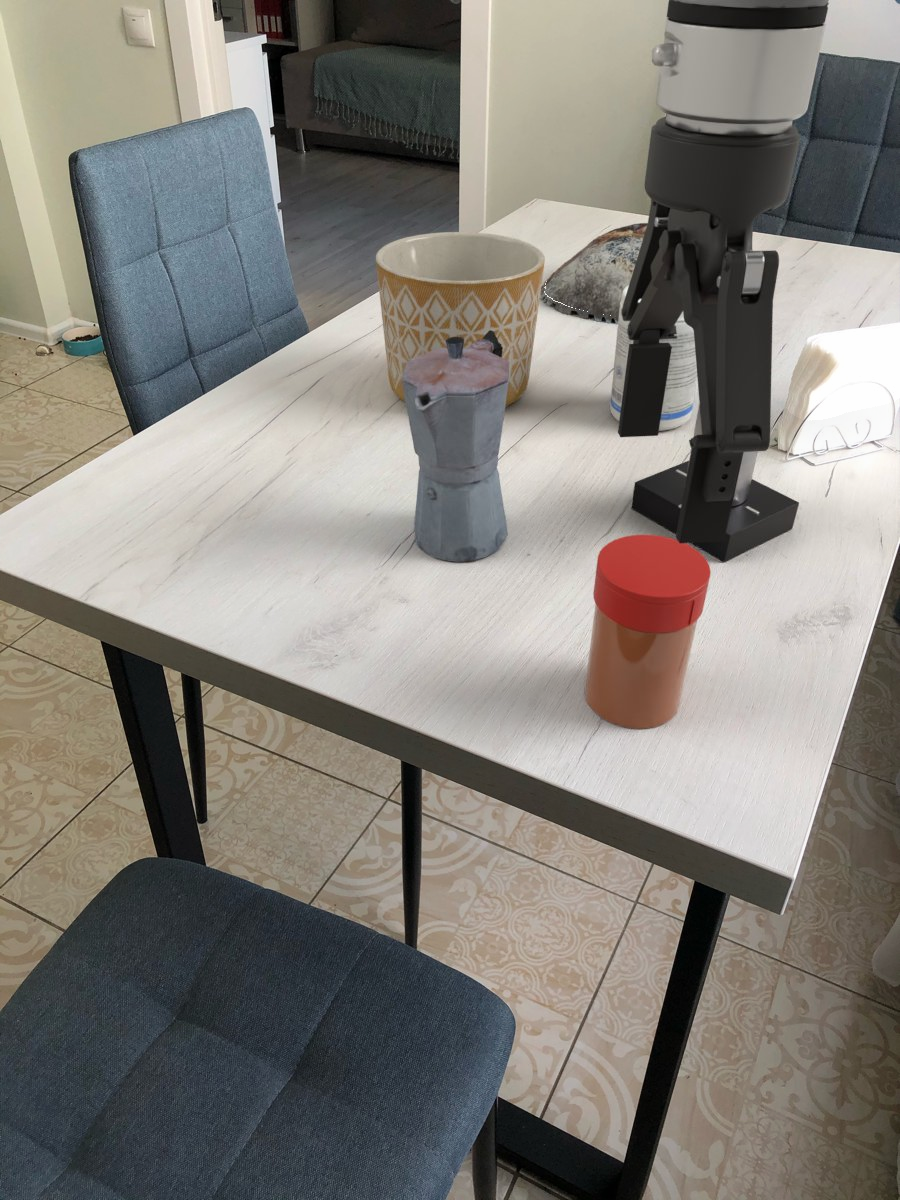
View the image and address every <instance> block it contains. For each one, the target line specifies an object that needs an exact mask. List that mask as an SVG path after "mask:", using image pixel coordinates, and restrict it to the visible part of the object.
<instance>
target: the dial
mask: <svg viewBox="0 0 900 1200" xmlns="http://www.w3.org/2000/svg"><path fill="white" fill-rule="evenodd" d="M696 435H702V428H701V415H700V403H699V402H698V409H697V414H696V420H695V426H694V432H693V437H694V436H696ZM690 448H691V447H690ZM691 450H692V448H691V449H690V451H691ZM758 453H759V451H756V452H744V453H743V457H742V462H741V466H740V471H739V476H738V480H737V485H736V489H735V494H734V498H733V503H732V506H736V505H739V504H741V503H743V502H744V501H745V500H746V499H747V497H748V493H749V489H750V484H751V480H752V479H753V474H754V471H755V466H756V462H757V458H758ZM690 456H691V452H690V453H689V457H690ZM688 461H690V458H689V459H688ZM688 467H689V465H688ZM687 472H688V470H687ZM686 477H687V476H686ZM685 483H686V481H685Z"/></svg>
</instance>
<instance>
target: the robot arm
mask: <svg viewBox="0 0 900 1200" xmlns="http://www.w3.org/2000/svg"><path fill="white" fill-rule="evenodd" d="M894 1H895V2H896V3H897V5H898V4H899V5H900V0H894ZM829 4H830V3H829V0H668V3H667V12H666V20H665V27H664V40H663V43H660V44H656V45H654V47H653V48H652V50H651V62H652V64H653V65H654V66H656V67H659V74H658V81H657V82H658V83H657V91H656V98H655V104H656V106H657V107H658V109H659V110H661V111H662V112H663V113H664V114H666V115H665V116H663V117H660V118H659V119H658V120H657V121H656V122H655V124H654V125H652V126H651V130H650V137H649V144H648V145H649V146H648V154H647V161H646V170H645V178H644V190H645V193H646V195H647V196H648V197H649V199H650V207H649V213H648V218H647V223H648V224H647V228H646V231H645V234H644V238H643V241H642V244H641V247H640V251H639V254H638V257H637V261H636V264H635V267H634V270H633V274H632V277H631V280H630V284H629V287H628V290H627V294H626V297H625V300H624V303H623V307H622V310H621V314H622V318H623V321H630V323H629V324H628V329H627V334H628V337H629V340H633V344H629V350H628V358H627V365H626V373H625V381H624V389H623V396H622V404H621V412H620V420H619V421H618V429H617V434H618V435H619V437H620V438H638V437H640V438H641V437H658V436H659V432H660V431H659V426H660V420H661V413H662V407H663V401H664V394H665V388H666V382H667V375H668V369H669V363H670V356H671V350H672V346H671V345H670V344H669V343H659V340H660V339H677V336H675V335H674V334H677V331H676V325H675V323H676V322H677V320H678V318H679V317H680V315H681V313H682V312H683V314H684V321H685V323H686V324H687V325H689V326H690V327H692V328H693V330H694V340H695V353H696V365H697V388H698V389H697V391H698V404H699V403H700V415H701V428H702V435H696V436H694V435H693V437H691V438H690V439H689V440H688V443H689V447H690V448H692V450H691V449H690V453H691V456H690V455H689V459H690V461H689V460H688V461H689V467H688V472H687V477H686V483H685V488H684V494H683V499H682V505H681V510H680V516H679V521H678V527H677V532H676V534H675V538H676V540H678V542H679V543H685V544H692V543H698V542H716V541H724V539H725V535H726V530H727V526H728V521H729V516H730V512H731V507H732V503H733V498H734V494H735V489H736V485H737V480H738V476H739V471H740V466H741V462H742V457H743V453H744V452H756V451H758V452H766V451H767V450H768V449H769V447H770V444H771V417H772V415H771V412H772V411H771V410H772V409H771V408H772V368H773V365H772V363H773V360H772V359H773V317H774V316H773V315H774V309H773V308H774V295H775V292H776V291H775V290H776V285H777V280H778V272H779V266H780V255H779V253H778V251H777V250H753V234H754V222H755V221H756V219H757V218H758V217H759V216H760V215H761V214H763V213H765V212H771V211H773V210H776V209H777V208H780V206H781V207H782V205H783V204H784V203H785V202H786V200H787V199H788V197H789V194H790V189H791V184H792V180H793V175H794V169H795V165H796V161H797V155H798V151H799V150H798V149H799V145H800V143H801V134H800V133H799V132H798V128H797V127H796V126H795V125H793V121H796V120H797V119H800V118H801V117H803V116H804V115H805V114H806V113H807V111H808V109H809V104H810V99H811V94H812V90H813V85H814V80H815V76H816V71H817V66H818V63H819V57H820V53H821V48H822V43H823V39H824V34H825V28H826V20H827V16H828V10H829ZM639 299H641V301H640V302H638V301H639Z"/></svg>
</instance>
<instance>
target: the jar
mask: <svg viewBox="0 0 900 1200" xmlns="http://www.w3.org/2000/svg"><path fill="white" fill-rule="evenodd" d="M594 604H595V605H594V611H593V621H592V628H591V637H590V642H589V643H590V644H589V653H588V662H587V667H586V677H585V685H584V698H585V700H586V702H587V705H588V706H589V708H590V709H591V710H592V711H593V713H595V714H596V715H597V716H599V718H601V719H603V720H604V721H607V722H609V723H611V724H613V725H616V726H619V727H623V728H628V729H635V730H644V729H645V730H646V729H651V728H656V727H659V726H662V725H664V724H666V723H668V722H669V721H671V720H672V719H673V718H674V717H675V716H676V715H677V713H678V712H679V709H680V705H681V701H682V696H683V691H684V686H685V681H686V676H687V671H688V667H689V661H690V657H691V653H692V649H693V648H692V647H693V642H694V638H695V633H696V629H697V624H698V620H697V621H695V622H694V623H693V624H691V625H690V626H688V627H686V628H683V629H680V630H677V631H672V632H664V633H653V632H643V631H638V630H634V629H630V628H627V627H625V626H622V625H620V624H618V623H616V622H614V621H612V620H611V619H609V618H608V617H606V616H605V615H604V614H603V613H602V612H601V611H600V610H599V608H598V607H597V605H596V603H595V602H594Z"/></svg>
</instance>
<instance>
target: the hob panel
mask: <svg viewBox="0 0 900 1200" xmlns="http://www.w3.org/2000/svg"><path fill="white" fill-rule="evenodd" d="M688 465H689V460H686V461H683V462H682V463H679V464H676V465H674V466H671V467H669V468H667V469H664V470H662V471H660V472H656V473H655V474H651V475H650V476H646V477H643V478H642V479H640V480H637V481H635V482H634V487H633V492H632V493H633V494H632V501H631V507H630V508H631V509H632V510H633V511H635V512H638V513H639V514H641V516H643V517H646V518H647V519H649V520H651V521H652V522H654V523H656V524H658V525H659V526H661V527H663V528H664V529H666V530H668V531H669V532H671V533H673V534H674V535H676V532H677V527H678V521H679V516H680V510H681V505H682V499H683V494H684V488H685V481H686V476H687V470H688ZM799 505H800V502H799V501H797V500H795V499H793V498H791V497H789V496H787V495H785V494H783V493H781V492H779V491H777V490H775V489H773V488H771V487H769V486H768V485H765V484H763V483H761V482H759V481H757V480H755V479H753V478H752V480H751V484H750V489H749V493H748V497H747V499H746V500H745V501H744V502H743V503H741V504H739V505H736V506H732V507H731V512H730V516H729V521H728V526H727V530H726V535H725V539H724V541H716V542H698V543H691V545H694V546H695V547H696V548H699V549H700V550H702V551H704V552H706V553H707V554H708V555H710V556H712V557H714V558H715V559H718V560H719V561H720V562H723V563H726V562H728V561H730V560H732V559H734V558H736V557H738V556H740V555H742V554H745V553H746V552H748V551H751V550H753V549H754V548H756V547H759V546H761V545H762V544H765V543H767V542H769V541H772V540H773V539H775V538H777V537H779V536H781V535H783V534H785V533H787V532H789V531H791V530H793V529H794V528H793V527H794V524H795V521H796V517H797V512H798V510H799Z"/></svg>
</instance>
